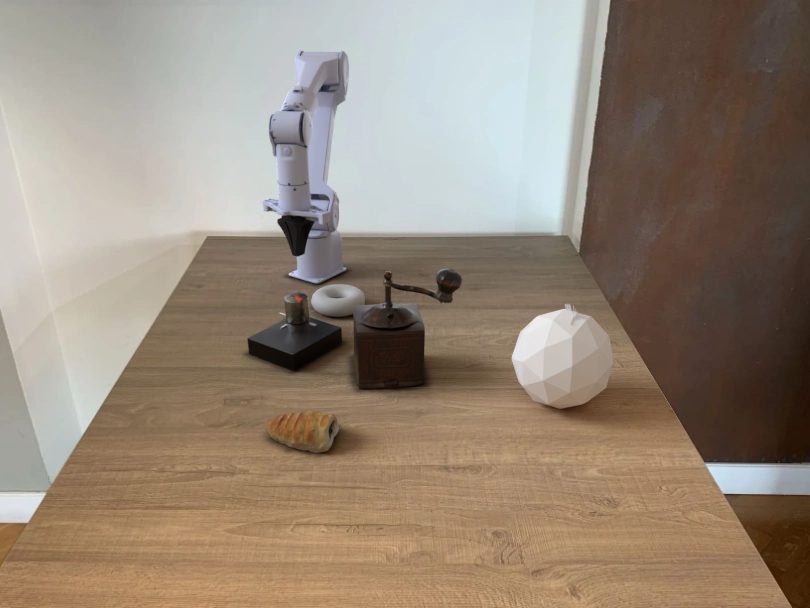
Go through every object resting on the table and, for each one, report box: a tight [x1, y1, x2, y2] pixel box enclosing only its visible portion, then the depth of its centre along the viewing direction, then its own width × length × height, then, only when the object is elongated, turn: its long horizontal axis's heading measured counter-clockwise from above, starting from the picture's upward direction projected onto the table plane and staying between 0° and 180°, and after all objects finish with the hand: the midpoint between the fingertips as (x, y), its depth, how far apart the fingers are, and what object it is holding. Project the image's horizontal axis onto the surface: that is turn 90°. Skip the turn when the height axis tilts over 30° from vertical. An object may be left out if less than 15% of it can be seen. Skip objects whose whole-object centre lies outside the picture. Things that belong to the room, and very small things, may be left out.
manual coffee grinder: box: [352, 268, 463, 390], centre depth 112 cm, size 16×11×18 cm
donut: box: [310, 283, 366, 318], centre depth 136 cm, size 10×4×10 cm
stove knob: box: [283, 292, 310, 324], centre depth 125 cm, size 4×4×4 cm
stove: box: [246, 310, 343, 372], centre depth 124 cm, size 14×12×3 cm
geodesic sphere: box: [511, 303, 615, 410], centre depth 105 cm, size 15×14×14 cm
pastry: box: [266, 409, 340, 454], centre depth 99 cm, size 9×7×4 cm
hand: (298, 254), depth 138 cm, fingers closed
